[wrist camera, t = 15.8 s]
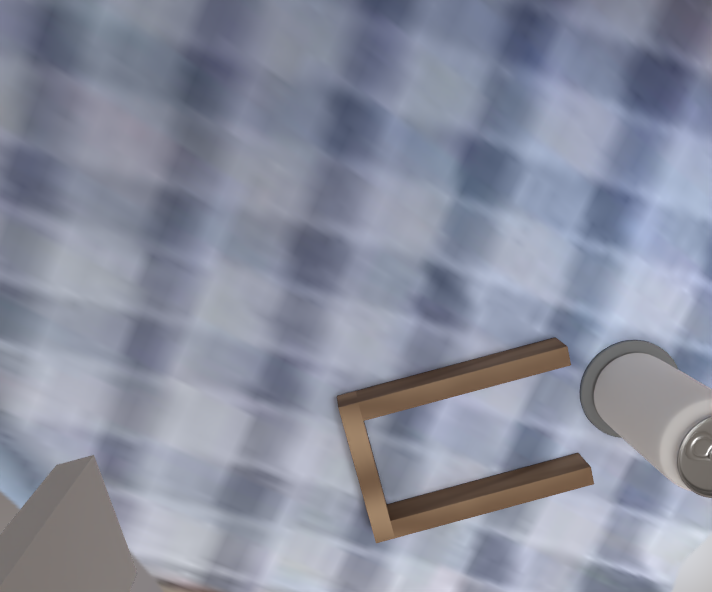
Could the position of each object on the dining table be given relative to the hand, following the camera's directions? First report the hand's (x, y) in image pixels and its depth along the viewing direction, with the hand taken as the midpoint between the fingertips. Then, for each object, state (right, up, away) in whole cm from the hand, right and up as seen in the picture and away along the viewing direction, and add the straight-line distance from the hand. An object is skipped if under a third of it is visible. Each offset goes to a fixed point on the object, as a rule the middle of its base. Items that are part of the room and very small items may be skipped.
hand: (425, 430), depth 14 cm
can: (+20, -5, +40) cm, 45 cm away
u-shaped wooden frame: (+8, -8, +40) cm, 41 cm away
